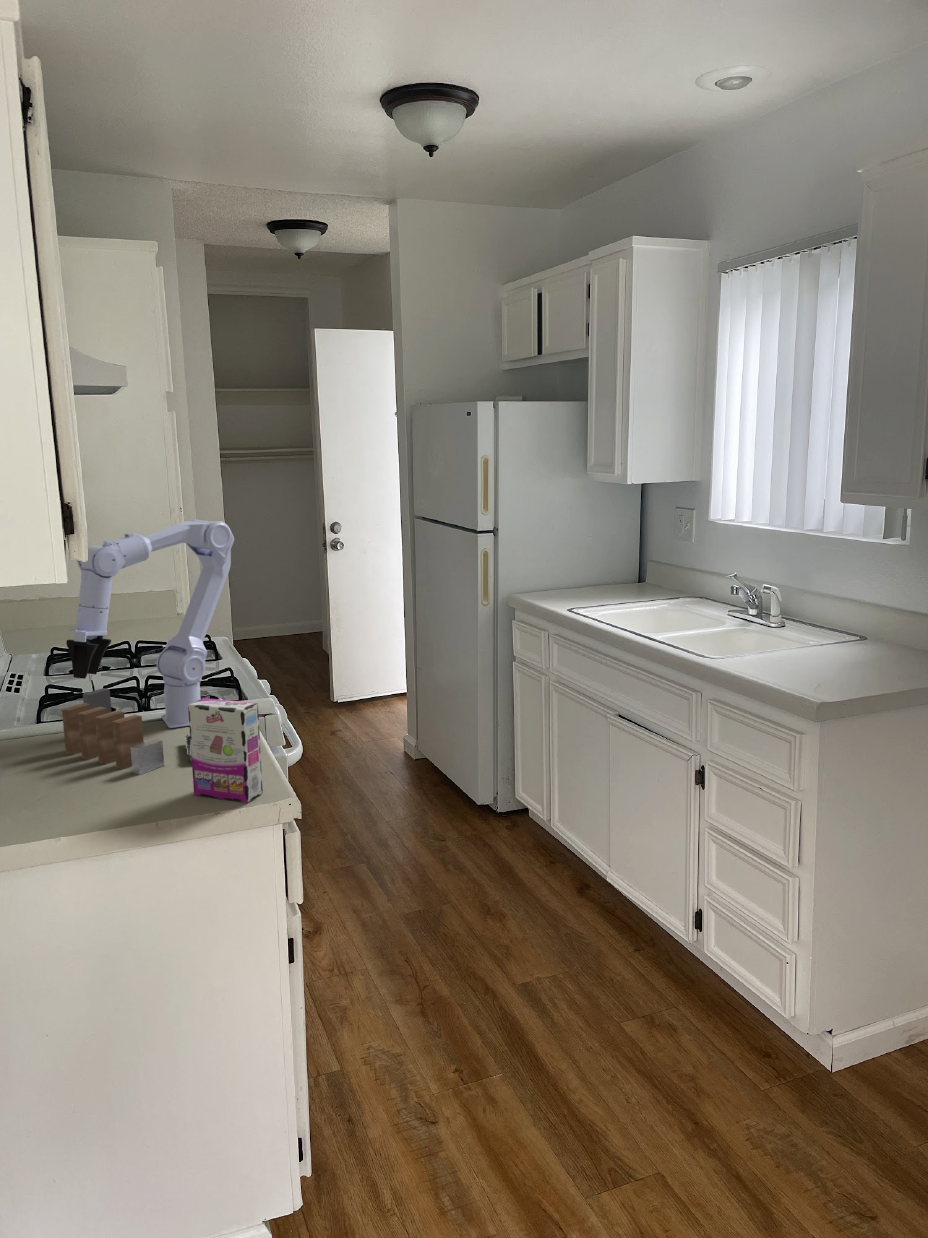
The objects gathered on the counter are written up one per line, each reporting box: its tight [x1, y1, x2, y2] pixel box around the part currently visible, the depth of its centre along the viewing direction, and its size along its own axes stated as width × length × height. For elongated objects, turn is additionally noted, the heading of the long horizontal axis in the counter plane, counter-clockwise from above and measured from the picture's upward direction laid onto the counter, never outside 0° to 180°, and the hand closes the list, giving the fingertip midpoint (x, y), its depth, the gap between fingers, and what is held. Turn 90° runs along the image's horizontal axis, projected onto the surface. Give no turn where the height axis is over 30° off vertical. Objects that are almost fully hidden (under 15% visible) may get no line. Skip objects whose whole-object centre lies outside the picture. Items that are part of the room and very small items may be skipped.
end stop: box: [131, 738, 165, 776], centre depth 172 cm, size 2×6×5 cm, turn 148°
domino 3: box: [78, 707, 108, 761], centre depth 180 cm, size 2×5×9 cm, turn 148°
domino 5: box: [112, 714, 145, 770], centre depth 174 cm, size 2×5×9 cm, turn 148°
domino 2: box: [82, 687, 113, 713], centre depth 193 cm, size 2×5×9 cm, turn 148°
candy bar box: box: [188, 697, 264, 804], centre depth 159 cm, size 11×5×16 cm, turn 70°
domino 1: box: [61, 702, 91, 756], centre depth 182 cm, size 2×5×9 cm, turn 148°
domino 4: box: [95, 710, 126, 765], centre depth 177 cm, size 2×5×9 cm, turn 148°
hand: (85, 675), depth 182 cm, fingers open, 7 cm apart
